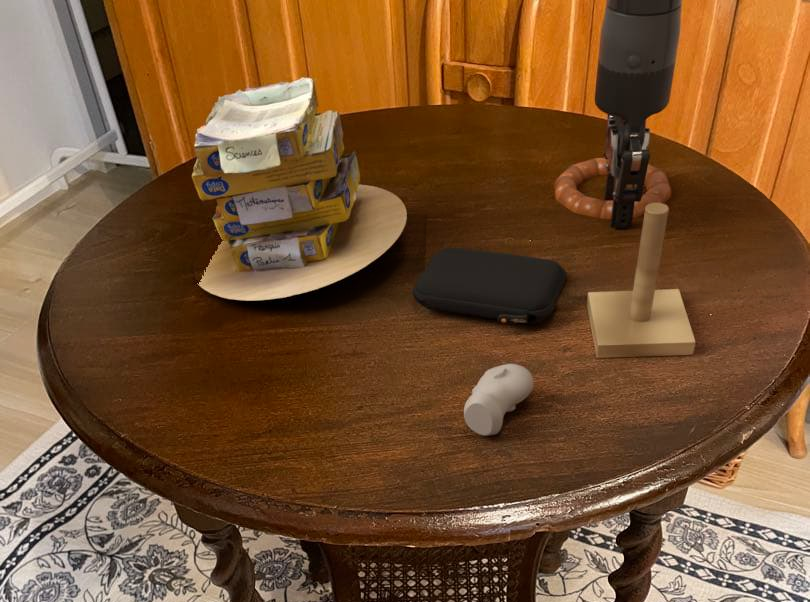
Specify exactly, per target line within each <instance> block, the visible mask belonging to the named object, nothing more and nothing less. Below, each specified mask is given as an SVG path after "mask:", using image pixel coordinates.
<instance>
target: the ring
mask: <svg viewBox="0 0 810 602" xmlns="http://www.w3.org/2000/svg"><path fill="white" fill-rule="evenodd" d="M606 162H607V159H605V157H595V158H594V157H593V158H591V159H588V160H584V161H581V162H578V163H575V164H572V165H570V166H569V167H567V168H566V169H565V170H564V171H563V172H562V173H561V174H560V175H559V176H558V177H557V178H556V179H555V181H554V184H553V190H554V196H555V201H556V202H557V203H559V204H560V205H562V206H563V207H565V208H566V209H567V210H569V211H570V212H572V213H574V214H578V215H582V216H587V217H591V218H594V219H599V220H611V215H612V207H613V200H612V201H606V200H604V199H601V198H596V197H591V196H588V195H585V194H584V193H582V192H581V191H579V190H578V187H579V186H580V185H581V184H582V183H583V181H586V180H589V179H591V178H594V177H598V176H607V173H610V172H606V168H605V164H606ZM644 187H645V190H646V192H645V193H644V194H642V198H641V201H640V202H635V204H634V211H633V218H632V219H636V218H639V217H642V216H644V214H645V208H646V206H647V205H648V204H651V203H662V204H665V205H666V203H667V201H669V199H671V197H672V193H673V192H672V188H671V184H670V182H669V179H668V177H667V175H666V173H664V172H663V171H662V170H660V169H658V168H656V167H655V166H653V165H652V164H650V163H648V167H647V172H646V177H645V182H644Z"/></svg>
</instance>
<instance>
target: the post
mask: <svg viewBox="0 0 810 602" xmlns="http://www.w3.org/2000/svg"><path fill="white" fill-rule="evenodd" d="M669 210H670V207H669V206H668V205H667V204H666V203H665V204H662V203H651V204H648V205H647V206H646V208H645V214H644V215H643V221H642V227H641V234H640V242H639V247H638V255H637V261H636V262H637V263H636V267H635V274H634V281H633V288H632V290H618V291H617V290H616V291H615V290H614V291H611V290H610V291H589V292H587V299H586V307H587V315H588V320H589V324H590V330H591V336H592V341H593V346H594V351H595V356H596V358H597V359H605V358H606V359H608V358H639V357H641V358H642V357H667V356H668V357H669V356H670V357H672V356H693V355H694V351H695V347H696V339H695V336H694V335H695V334H694V332H693V329H692V326H691V323H690V319H689V317H688V313H687V311H686V308H685V304H684V301H683V297H682V295H681V291H680V289H679V288H675V289H674V288H671V289H670V288H669V289H668V288H666V289H656V287H657V280H658V275H659V269H660V264H661V257H662V252H663V245H664V240H665V233H666V228H667V222H668V218H669V212H670V211H669Z"/></svg>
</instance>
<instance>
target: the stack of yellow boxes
mask: <svg viewBox="0 0 810 602" xmlns="http://www.w3.org/2000/svg"><path fill="white" fill-rule="evenodd" d="M315 82H317V79H315V81H314V80H313V78H310V77H301V78H300V79H298V80H293V81H292V82H289V81H280V82H278V83H274V84H268V85H261V86H258V87H249V85H248V84H246V88H245V89H244V90H245V91H243V90H241V88H240V89H238V90H236V92H233V93H230V94H225V95H223V96H221V95H220V96H218V99H217V102H215V103H214V106H212V107H211V112H210V113H209V114H208V116H207V118H206V120H205V123H202V126H200V127H199V128H197V129H196V134H195V135H194V136H195V142H194V145H193V148H194V152H195V155H196V161H195V163H194V166H193V171H192V174H191V179H192V182H193V184H194V188H195V189H196V192H197V195H198V197H199V199H200V200H201V201H202V202H203V201H204V202H205V201H212V200H215V202H216V203H217V206H216V208H215V213H214V214H213V216H212V221H213V224H214V227H215V229H216V230H217V231H218V233H219V235H220V237H221V239H222V240H223V241H222V242H221V244H220V245H218V249H217V251H215V254H214V255H213V256H212V260H211V259H210V263H209V265H208V267H206V272H205V270H204V276H203V275H202V279H201V280H200V281H201V282H199V284H198V286H199V287H200V288H202V289H203V290H204V291H206V292H207V293H209V294H211V295H214V296H217V297H220V298H223V299H227V300H235V301H236V300H237V301H247V302H248V301H250V302H251V301H266V300H267V301H268V300H269V301H270V300H275V299H283V298H287V297H292V296H296V295H300V294H305V293H308V292H312V291H315V290H319V289H321V288H324V287H327V286H329V285H331V284H334V283H336V282H338V281H341V280H343V279H345V278H348V277H349V276H351V275H353V274H355V273H357V272H359V271H360V270H362V269H364V268H366V267H367V266H368V265H370V264H371V263H373V262H374V261H376V260H377V259H379V258H380V257H381V256H382V255H383V254H385V252H387V250H389V249H390V248H391V247H392V246H393V245H394V244H395V242H396V241H397V240H398V239H399V238H400V236H401V234H402V233H403V231H404V228H405V227H406V224H407V220H408V216H407V215H408V213H407V208H406V205H405V203H404V202H403V201H402V200H401V198H400V197H399V196H397V195H396V194H394V193H393V192H392V191H389V190H388V189H387V190H386V189H384V188H381V187H377V186H374V185H367V184H362V181H361V173H360V168H359V164H358V158H357V155H356V154H357V151H356V150H353V152H352V154H343V153H344V151H345V146H344V141H343V139H344V138H343V137H344V131H343V127H342V123H341V114H340V113H339V111H338V110H332V109H330V110H326V111H324V112H322V113H321V112H319V113H318V107H319V101H318V95H317V90H316V85H315Z"/></svg>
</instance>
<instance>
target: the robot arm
mask: <svg viewBox="0 0 810 602" xmlns="http://www.w3.org/2000/svg"><path fill="white" fill-rule="evenodd" d="M682 3H683V0H606V4H605V9H604V14H603V19H602V23H601V27H600V28H601V29H600V36H599V46H598V58H597V67H596V68H597V69H596V78H595V79H596V80H595V87H594V88H595V89H594V104H595V106H596V107H597V108H598V110H599V111H600V112H602V113H604V114H606V115H607V117H606V118H607V120H606V126H605V130H606V132H605V145H604V151H603V156H604V158H605V159H607V162H606V164H605V168H606V172H610V173H607V175H606V180H605V190H604V192H605V193H604V199H603V200H606V201H612V200H613V207H612V215H611V219H610V224H609V226H610V228H611V229H615V230H626V229H629V228H631V227H632V225H633V219H634V218H633V211H634V204H635V202H640V201H641V198H642V195H643V193H644V192H643V191H644V187H645V184H644V182H645V177H646V172H647V167H648V164H649V161H650V159H651V152H650V149H647V147H648V146H649V144H650V135H651V129H650V128H651V127H647V119H648V118H650V117H651V116H653V115H657V114H659V113H661V112H663V111H664V110H665V109H666V108H667V107H668V105H669V103H670V100H671V93H672V88H673V80H674V74H675V67H676V61H677V54H678V48H679V43H680V36H681V25H682V6H683V5H682ZM628 185H631V187H628Z"/></svg>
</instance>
